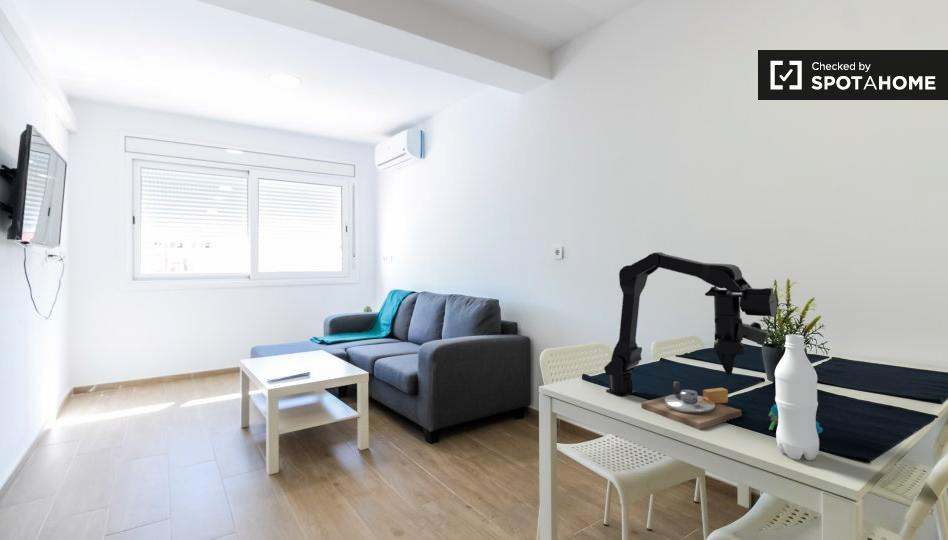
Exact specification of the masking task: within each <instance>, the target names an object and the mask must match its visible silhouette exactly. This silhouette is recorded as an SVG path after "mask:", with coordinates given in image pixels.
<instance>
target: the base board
mask: <svg viewBox="0 0 948 540" xmlns="http://www.w3.org/2000/svg"><path fill="white" fill-rule="evenodd" d="M680 386H681V383H680V381H676V380H675V381H673V394H672V395H674V394H681V387H680ZM670 395H671V394H669V395H665V396H662V397H658V398H654V399H650V400H646V401H642V402H641V403H640V404H641V409H643V410H646V411H648V412H652V413H654V414H656V415H660V416H662V417H664V418H668V419H670V420H673V421H675V422H679V423H681V424H683V425H686V426H689V427H691V428H694V429H697V430H702V429H706V428H709V427H712V426H715V425H719V424H721V423H722V424H723V423H724V422H727V420H728V421H730V420H729V419H731V420H734V419H737V418H740V417H742V410H741V409H739V408H735V407H731V406H730V405H729V406H728V405H725V404H723V403H718V404H715V409H714V411H712V412H709V413H703V414H691V413H683V412H679V411H675V410H672V409H670V408H668V407H667V406H666V405H665V398H666V397H667V396H670ZM733 418H734V419H733Z"/></svg>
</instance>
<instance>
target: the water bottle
mask: <svg viewBox="0 0 948 540" xmlns="http://www.w3.org/2000/svg"><path fill="white" fill-rule="evenodd" d="M804 342H805V340H804V335H801V334H791V333H790V334H786V335H785V342H784V344H783V346H784V347H785V351H784V354H783V356H781V359H780V360H779V362H778V363H777V365H776V366H775V367H776V368H775V370H774V377H775V378H774V379H775V380H774V381H775V397H774V400H775V404H776V405H777V408H778V416H779V418H778V424H777V427H776V433H775V436H776V437H775V438H776V440H775V441H776V445H777V448H778V450H779V451H780V453H782V454H783V455H787V457H789V458H790V459H792V460H796V461H797V460H800V459H801V458H802V456H803V457H804V459H805V460H806V461H813V460H815V458H816V457H817V456H818V454H819V450H820V438H819V435H818V434H817V430H816V421H817V420H816V419H817V416H816V415H817V410H818V406H819V401H818V374H817V372H816V371H817V370H815V367H814V366H813V364H812V363H811V361H810V360H809V358H808V357H807V355H806V352H805V349H806V347H807V346H805V343H804Z"/></svg>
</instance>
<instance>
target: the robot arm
mask: <svg viewBox="0 0 948 540" xmlns="http://www.w3.org/2000/svg"><path fill="white" fill-rule="evenodd" d="M659 268H661V269H665V270H668V271H673V272H676V273H680V274H683V275H687V276H692V277H695V278H698V279H700V280H702V281H703V282H705V283H706V284H709V285H711V287H710V289H709V290H708V291H706V292H705V293H704V296H706V297H713V305H714V306H713V307H714V308H713V309H714V342H713V353H715V354H716V355H717V357H718V359H719V361H720V364H721V366H722V368H723V370H724V372H725V374H726V375H727V376H732V374H733V370H734V365H735V360H736V357H737V356H738V355H741V356H742V355H745V347H744V343H743V342H742V341H743V340H744V339H745V340H748V341H750V342H753V343H756V344H757V345H759V346H764V345H765V342H766V340H767V338H768V335H769V332H768V331H767V330H766V329H764V328H763V329H762V325H761V323H759V322H756V321H753V322H751V323H750V324H749V323H743V318H742V317H741V313H743V312H744V313H745V315H747V316H756V317H757V316H759V317H771V318H772V317H773V318H774V317H776V314H777V310H778V301H777V299H776V295H775V293H774V288H773V287H765V288H755V287H753V288H752V286H751V285H750V284H749V283H748V282H747V280H746V279H745V278H744V277H743V273H742V270H741V269H740V268H739V266H737V265H735V264H733V263H732V264H731V263H729V264H728V263H713V262H712V263H710V262H709V263H708V262H705V263H704V262H702V261H697V260H693V259H688V258H683V257H679V256H676V255H670V254H665V252H661V251H660V252H659V251H658V252H651V253H649V254H648V255H647V256H645V257H644V258H642V259H640V260H638V261H635V262H634V263H632V264H630V265H625V266H622V268H620V270H619V272H618V280H619V281H618V282H619V287H620V290H621V292H622V303H621V304H622V305H621V315H620V316H621V317H620V325H619V326H620V328H619V336H618V341H617V342H616V345H615V346H614V348H613V351H612V355H611V359H610V361H609V362H608V363H607V364H606V365H605V366H603V367H604V368H603V369H604V372H605V375H606V376H607V375H608V377H609V380H608V381H609V383H608V384H609V388H608V389H607V388H606V389H605V392H606V393H609V394H612V395H615V396H617V397H624V396H628V395H632V394H636V393H637V392H636V390H633V379H632V373H631V372H634V370H635V368H636V367H637V366H638V365H639V363H640V361H642V360H643V359H642V352H643V347H641V346H638V344H637V329H638V320H639V309H640V298H641V294H642V292H643V291H644V289H645V286H646V283H647V281H648V276H650V275H651V274H653V273H655V272H656V271H657V270H658V269H659Z"/></svg>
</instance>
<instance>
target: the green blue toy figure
mask: <svg viewBox="0 0 948 540" xmlns="http://www.w3.org/2000/svg"><path fill="white" fill-rule="evenodd" d="M768 417H770V421H771V423H770V425H769V428H768V430H769V431H770V430H772V431H773V430H774V428H775V427H776V425H778V418H779V416H778V408H777V404H776V403H774V404H773V406H771V408H770V412H769V413H768ZM820 424H821V423H819V422H818V421H817V420H816V430H817V434H818V436H819V434H820V433H821V434H822V432H823V431H824V429H823V426H820Z"/></svg>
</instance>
